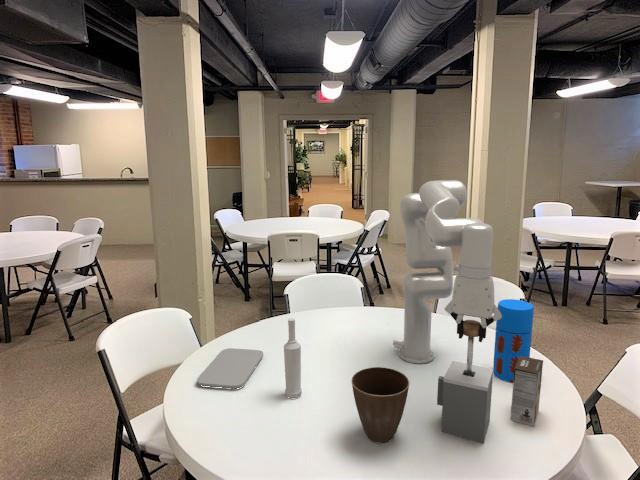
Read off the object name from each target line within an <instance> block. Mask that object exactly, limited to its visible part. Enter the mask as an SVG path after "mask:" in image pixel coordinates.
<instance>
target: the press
mask: <svg viewBox="0 0 640 480" xmlns="http://www.w3.org/2000/svg"><path fill="white" fill-rule="evenodd" d="M466 368H467V362H462V361H455V360H452V361H451V362H450V364H449V366H448V368H447V370H446V373H445V374H444V376H443V375H441V376H440V375H439V376H438V378H437V397H436V406H440V407H441V426H440V428H441V429H440V433H443V434H446V435H449V436H453V437H458V438H460V439H464V440H466V441H467V440H468V441H470V442H474V443H479V444H482V445H484V444H485V441H486V437H487V432H488V430H489V426H490V425H489V424H490V422H491V421H490V420H491V410H492V409H491V408H492V407H491V406H492V396H493V395H492V394H493V380H494V368H492V367H491V368H490V367H485V366H482V365H475V364H472V377H471V376H466Z"/></svg>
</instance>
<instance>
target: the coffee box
mask: <svg viewBox="0 0 640 480" xmlns="http://www.w3.org/2000/svg"><path fill="white" fill-rule="evenodd" d="M543 365H544V360H543V359H538V358H533V357H530V358H529V357H523V356H520V357H519V359H518V361H517V364H516V366H515V368H514V381H513V383H512V397H511V408H510V421H514V422H517V423H519V424H520V423H521V424H525V425H528V426H531V427H534V426H535V425H536V420H537V417H538V414H539V411H540V410H539V409H540V400H541V399H540V398H541V388H542V377H543V368H544V367H543Z"/></svg>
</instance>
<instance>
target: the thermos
mask: <svg viewBox="0 0 640 480" xmlns="http://www.w3.org/2000/svg"><path fill="white" fill-rule="evenodd" d="M496 307H497V308H498V310H499V312H500V313H501V315H502V317H501V319H499V320H497V321H495V323H496V324H495V325H496V326H495V334H494V335H495V337H494V351H493V376H494V377H496V379H499V380H501V381H502V382H506V383H511V384H513V381H514V368H515V366H516V364H517V361H518V359H519V357H520V356H523V357H529V358H531V347H532V346H531V345H532V333H533V324H534V323H533V322H534V311H535V310H534V305H533V304H532V303H530V302H528V301H526V300H520V299H515V298H513V299H512V298H511V299H510V298H509V299H508V298H507V299H501V300H499V301H498V304H497V306H496Z"/></svg>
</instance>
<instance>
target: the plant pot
mask: <svg viewBox="0 0 640 480" xmlns="http://www.w3.org/2000/svg"><path fill="white" fill-rule="evenodd" d="M351 387H352V393H353V397H354V402H355V406H356V409H357V413H358V417H359V420H360V422H361V426H362V428H363V430H364V433H365V436H366V437H367V439H368V440H369V441H371V442H372V443H377V444H387V443H389V442H391V441H392V440H393V439H394V438H395V435H396V434H397V431H398V428H399V426H400V423H401V419H402V417H403V415H404V411H405V408H406V404H407V403H406V402H407V398H408V394H409V387H410V381H409V378H408V377H407V376H406V375H405V374H404V373H402V372H400V371H399V370H396V369H395V368H391V367H389V368H388V367H381V366H375V367H373V366H372V367H368V368H367V367H366V368H363V369H361V370H358V371H357V372H356V373H354V374H353V376H352V377H351Z"/></svg>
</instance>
